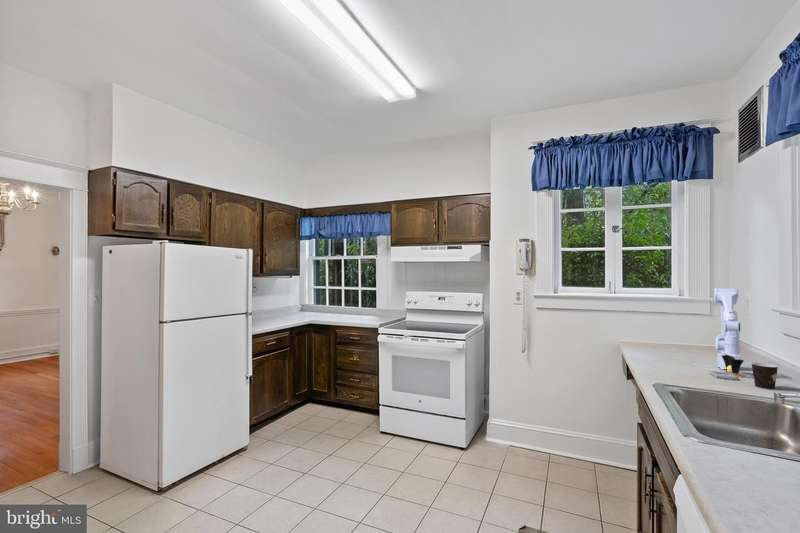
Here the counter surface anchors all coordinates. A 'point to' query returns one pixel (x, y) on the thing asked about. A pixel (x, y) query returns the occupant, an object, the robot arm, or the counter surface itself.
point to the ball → (729, 369)
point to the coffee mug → (764, 375)
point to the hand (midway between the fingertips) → (732, 371)
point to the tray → (724, 375)
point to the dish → (735, 373)
